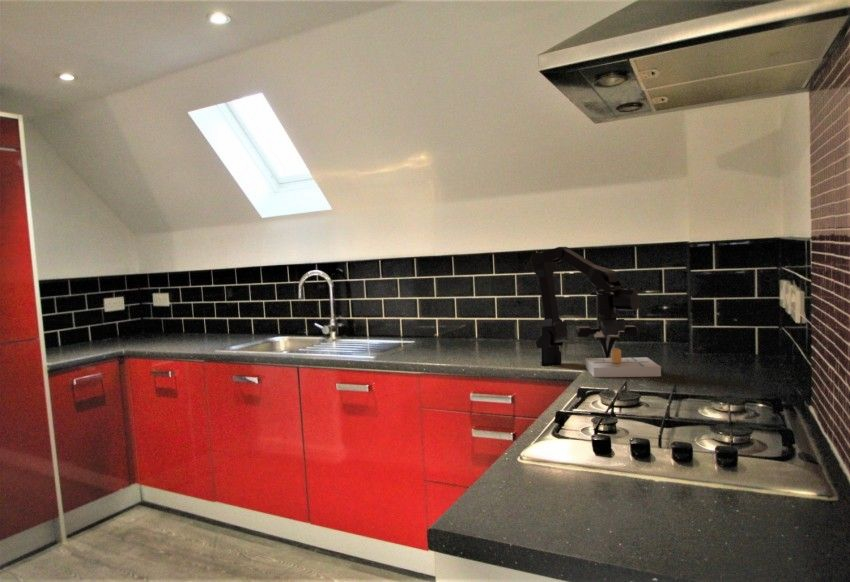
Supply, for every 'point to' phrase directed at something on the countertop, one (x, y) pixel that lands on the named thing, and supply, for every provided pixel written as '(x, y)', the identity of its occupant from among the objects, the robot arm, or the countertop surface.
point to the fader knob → (616, 355)
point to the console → (623, 367)
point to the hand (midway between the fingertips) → (607, 357)
